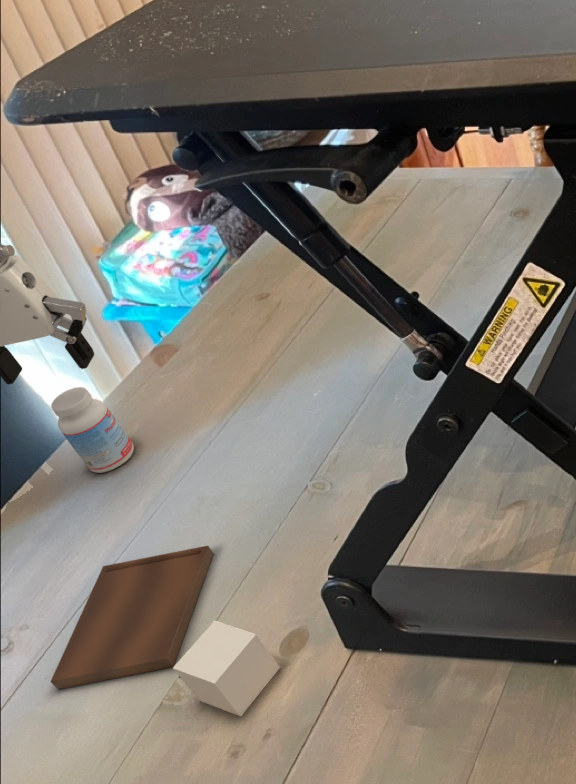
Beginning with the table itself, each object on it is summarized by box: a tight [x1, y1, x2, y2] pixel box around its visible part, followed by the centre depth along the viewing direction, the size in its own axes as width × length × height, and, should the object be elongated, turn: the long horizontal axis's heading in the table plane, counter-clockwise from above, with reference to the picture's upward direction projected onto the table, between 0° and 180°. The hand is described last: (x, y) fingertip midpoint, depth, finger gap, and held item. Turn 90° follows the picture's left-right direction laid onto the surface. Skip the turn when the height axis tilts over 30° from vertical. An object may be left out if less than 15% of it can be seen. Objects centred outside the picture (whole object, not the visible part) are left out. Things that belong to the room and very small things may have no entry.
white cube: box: [172, 620, 281, 717], centre depth 110 cm, size 6×6×6 cm
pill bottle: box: [50, 386, 135, 474], centre depth 143 cm, size 6×6×11 cm
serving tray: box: [50, 545, 214, 690], centre depth 121 cm, size 13×16×2 cm
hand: (51, 369), depth 136 cm, fingers open, 9 cm apart
